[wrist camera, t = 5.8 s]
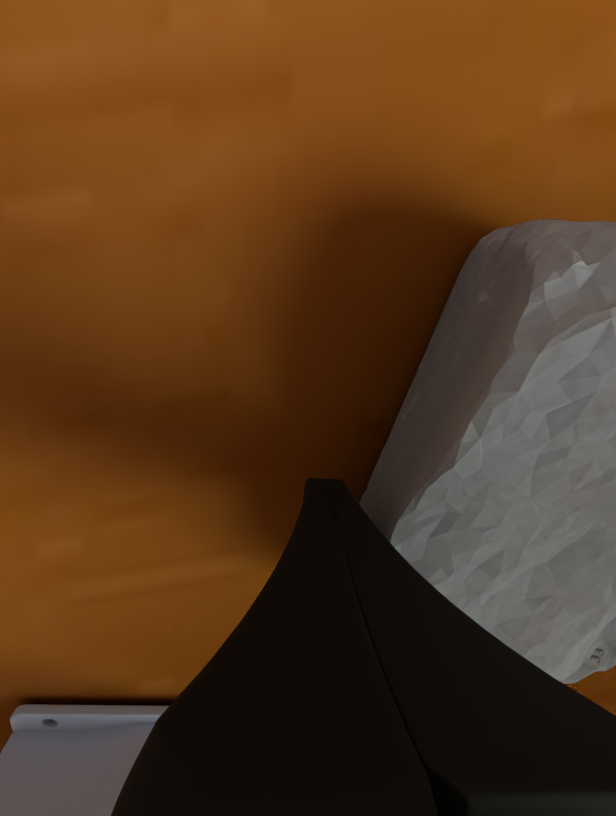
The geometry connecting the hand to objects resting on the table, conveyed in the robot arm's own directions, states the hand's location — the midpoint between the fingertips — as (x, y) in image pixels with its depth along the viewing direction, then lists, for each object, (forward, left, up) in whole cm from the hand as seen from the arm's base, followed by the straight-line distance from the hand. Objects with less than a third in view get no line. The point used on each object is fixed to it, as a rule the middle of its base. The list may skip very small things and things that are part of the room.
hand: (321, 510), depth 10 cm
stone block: (+7, +1, -2) cm, 7 cm away
